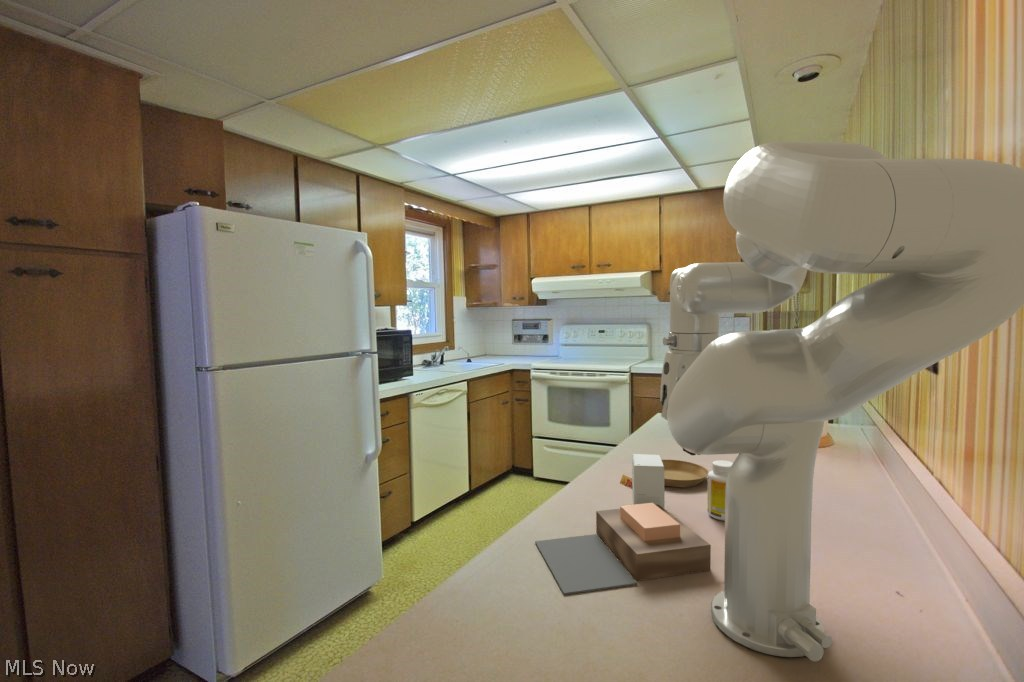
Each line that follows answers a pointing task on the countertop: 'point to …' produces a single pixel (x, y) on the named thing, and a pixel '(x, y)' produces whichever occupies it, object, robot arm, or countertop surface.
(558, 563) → the mat
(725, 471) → the supplement bottle
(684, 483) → the plant saucer
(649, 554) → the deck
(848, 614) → the countertop surface
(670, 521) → the peach rectangular slab
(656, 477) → the small box
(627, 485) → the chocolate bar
